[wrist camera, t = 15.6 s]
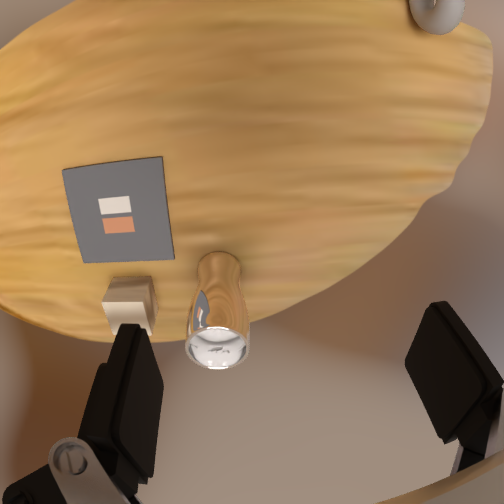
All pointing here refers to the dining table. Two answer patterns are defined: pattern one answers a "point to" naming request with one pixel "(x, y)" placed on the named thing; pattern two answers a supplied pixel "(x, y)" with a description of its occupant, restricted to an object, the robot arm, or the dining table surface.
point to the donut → (437, 14)
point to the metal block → (131, 303)
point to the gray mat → (120, 211)
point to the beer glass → (218, 315)
